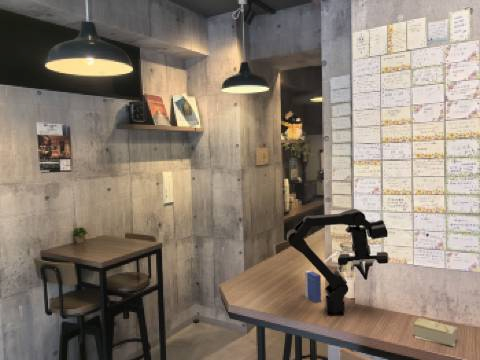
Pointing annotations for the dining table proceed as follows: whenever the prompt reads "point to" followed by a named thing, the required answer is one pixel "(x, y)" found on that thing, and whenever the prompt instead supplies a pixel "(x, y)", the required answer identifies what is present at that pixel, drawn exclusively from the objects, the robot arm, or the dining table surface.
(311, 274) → the walkman
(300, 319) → the dining table surface
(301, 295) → the dining table surface
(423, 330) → the skincare box
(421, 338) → the mat
